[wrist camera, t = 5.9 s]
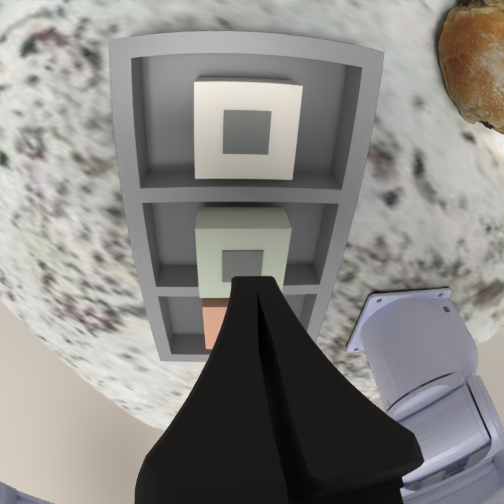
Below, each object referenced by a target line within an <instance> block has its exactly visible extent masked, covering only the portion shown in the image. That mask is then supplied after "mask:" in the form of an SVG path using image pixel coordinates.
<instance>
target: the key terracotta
mask: <svg viewBox="0 0 504 504" xmlns="http://www.w3.org/2000/svg"><path fill="white" fill-rule="evenodd" d="M228 302H229V298H203V301H202V310H203V322H204V333H205V344H206V349H213V346H214V344H215V341H216V339H217V336H218V334H219V331H220V329H221V326H222V323H223V319H224V316H225V313H226V310H227V306H228Z"/></svg>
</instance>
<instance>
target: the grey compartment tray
mask: <svg viewBox="0 0 504 504" xmlns="http://www.w3.org/2000/svg"><path fill="white" fill-rule="evenodd" d="M383 59H384V52H382V51H378V50H374V49H370V48H366V47H361V46H356V45H352V44H347V43H341V42H336V41H330V40H324V39H318V38H311V37H303V36H295V35H286V34H276V33H263V32H244V31H191V32H172V33H159V34H149V35H140V36H132V37H125V38H118V39H112V40H109V64H110V87H111V103H112V116H113V127H114V137H115V146H116V155H117V163H118V170H119V178H120V185H121V191H122V198H123V204H124V210H125V215H126V221H127V227H128V232H129V237H130V242H131V247H132V252H133V257H134V261H135V266H136V270H137V275H138V279H139V283H140V288H141V292H142V296H143V300H144V304H145V308H146V311H147V315H148V319H149V323H150V326H151V330H152V333H153V337H154V340H155V344H156V347H157V351H158V354H159V357H160V361H183V362H207V360H208V358H209V356H210V353H211V351H212V349H206V344H205V333H204V322H203V310H202V301H203V298H200V295H199V283H198V269H197V255H196V239H195V224H196V216H197V208H198V207H276V208H285V210H286V213H287V216H288V219H289V222H290V225H291V228H292V230H291V237H290V244H289V250H288V257H287V263H286V270H285V276H284V282H283V288H282V293H283V295H284V297H285V299H286V300H287V302H288V304H289V305H290V307H291V309H292V310H293V312H294V313H295V315H296V316H297V318H298V319H299V321H300V322H301V324H302V325H303V327H304V328H305V330H306V331H307V333H308V334H309V335H310V337H311V338H312V339H313V341H314V342H315V343H316V341H317V338H318V335H319V332H320V329H321V326H322V323H323V320H324V317H325V313H326V310H327V307H328V304H329V301H330V298H331V294H332V291H333V288H334V284H335V281H336V278H337V274H338V271H339V267H340V264H341V260H342V257H343V253H344V250H345V246H346V242H347V239H348V235H349V231H350V227H351V223H352V219H353V215H354V211H355V207H356V203H357V199H358V195H359V191H360V186H361V182H362V177H363V173H364V168H365V164H366V159H367V154H368V149H369V144H370V139H371V134H372V129H373V123H374V118H375V112H376V106H377V100H378V94H379V87H380V81H381V74H382V67H383ZM198 77H246V78H267V79H281V80H293V81H295V82H297V83H299V84H300V85H302V86H303V89H302V99H301V108H300V118H299V127H298V136H297V144H296V153H295V161H294V170H293V178H292V180H280V179H195V158H194V81H195V80H196V79H197V78H198Z"/></svg>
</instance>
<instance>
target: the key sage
mask: <svg viewBox="0 0 504 504" xmlns="http://www.w3.org/2000/svg"><path fill="white" fill-rule="evenodd" d="M291 230H292V228H291V225H290V222H289V219H288V216H287V213H286V210H285V208H276V207H198V208H197V216H196V224H195V239H196V255H197V269H198V283H199V295H200V298H229V297H230V292H231V279H232V278H233V277H234V276H273V277H274V278H275V280H276V282H277V284H278V286H279V288H280V290H281V292H282V288H283V282H284V276H285V270H286V263H287V257H288V250H289V244H290V237H291Z"/></svg>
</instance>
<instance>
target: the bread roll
mask: <svg viewBox="0 0 504 504" xmlns="http://www.w3.org/2000/svg"><path fill="white" fill-rule="evenodd" d="M443 24H444V26H443V29H442V33H441V35H440V40H439V44H438V50H439V58H440V67H441V69H442V73H443V76H444V81H445V84H446V88H447V90H448V93H449V96H450V97H451V99H452V100H453V101H454V102H455V104H456V105H457V106H458V108H459V109H460V112H459V114H460V115H461V116H462V117H463V118H464V119H465V120H466V121H467V122H468V123H472V124H475V122H476V120H477V121H479V122H482V124H483V125H484V126H485V127H487V128H489V129H492V128H493V129H494V130H496V131H497V132H499V133H502V134H504V0H460V1H459V3H458V5H457V6H456V7H454V8H452V9H451V10H449V12H448V15H447V18H446V21H445V22H444V23H443Z"/></svg>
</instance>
